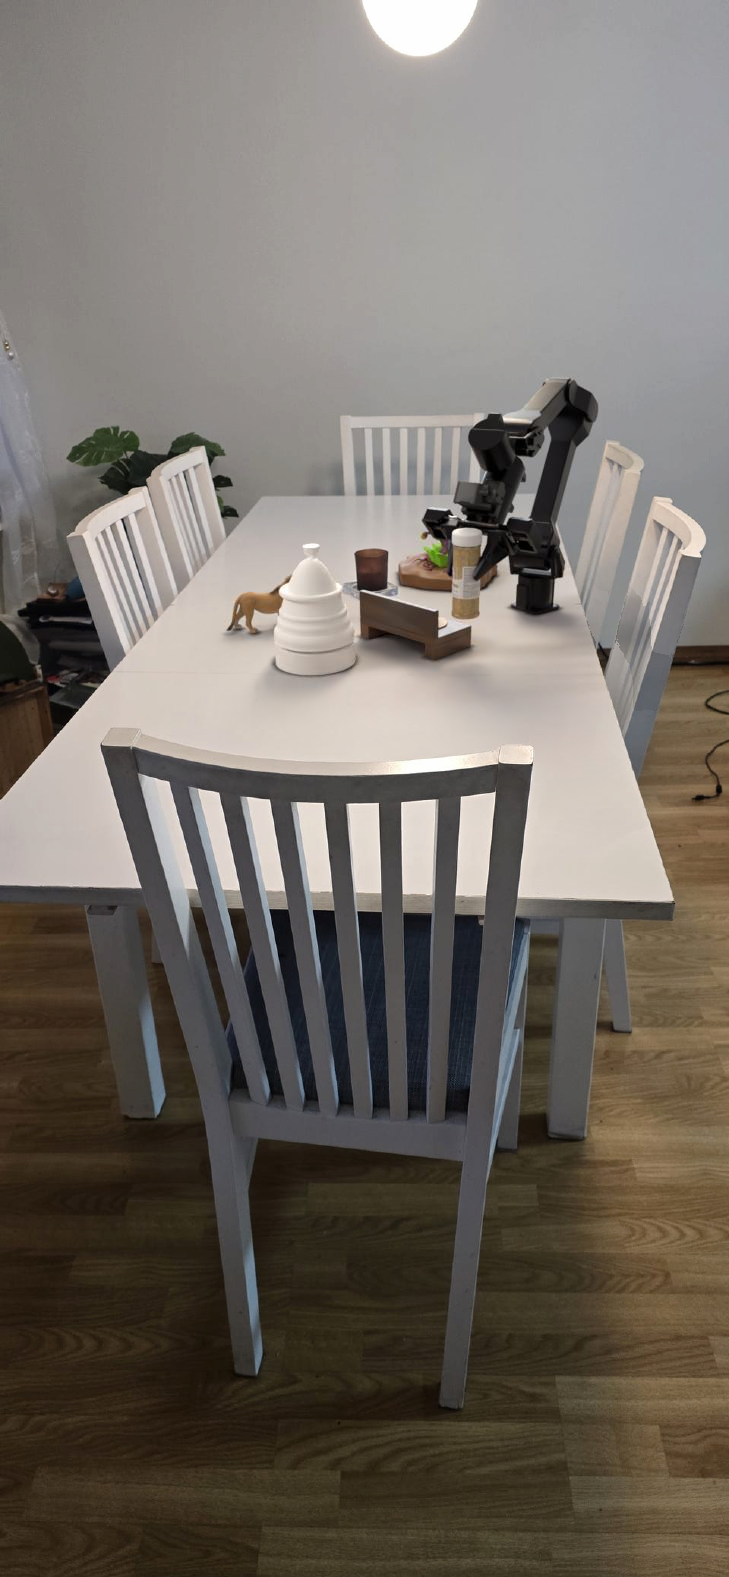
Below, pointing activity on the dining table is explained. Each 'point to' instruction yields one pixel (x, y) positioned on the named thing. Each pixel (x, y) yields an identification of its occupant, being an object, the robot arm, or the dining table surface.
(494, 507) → the robot arm
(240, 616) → the lion figurine
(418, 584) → the plant
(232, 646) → the dining table surface
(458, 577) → the sprinkles bottle
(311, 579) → the honey pot
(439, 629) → the miniature wooden bench
